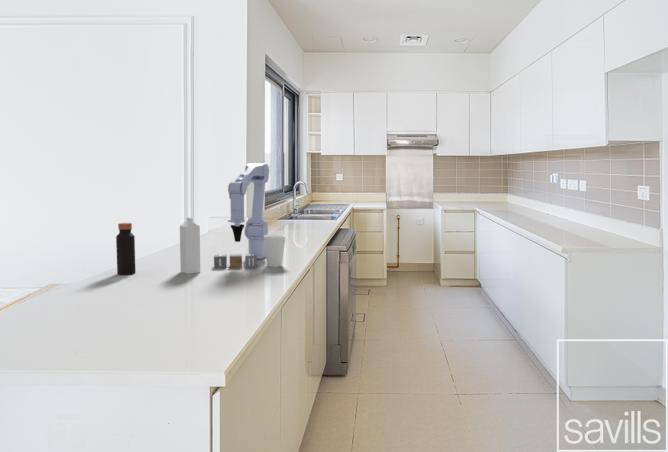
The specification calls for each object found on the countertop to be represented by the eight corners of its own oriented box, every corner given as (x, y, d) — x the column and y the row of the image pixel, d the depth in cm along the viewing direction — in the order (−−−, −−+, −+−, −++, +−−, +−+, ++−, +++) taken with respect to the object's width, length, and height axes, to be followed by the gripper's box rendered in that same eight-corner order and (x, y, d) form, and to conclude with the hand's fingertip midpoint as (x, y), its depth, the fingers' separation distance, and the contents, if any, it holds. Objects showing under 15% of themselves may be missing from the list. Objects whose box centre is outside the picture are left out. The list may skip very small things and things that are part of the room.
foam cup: (287, 264, 248) (287, 234, 247) (283, 267, 239) (283, 237, 238) (266, 263, 249) (265, 234, 248) (261, 267, 240) (261, 237, 239)
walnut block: (230, 266, 243) (230, 254, 243) (241, 265, 244) (241, 254, 243) (229, 268, 238) (229, 256, 238) (241, 267, 239) (241, 256, 238)
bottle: (129, 275, 219) (128, 224, 217) (113, 274, 221) (112, 224, 219) (138, 272, 226) (137, 222, 224) (123, 271, 227) (122, 222, 225)
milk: (186, 274, 223) (185, 218, 221) (180, 272, 228) (179, 217, 226) (200, 272, 227) (199, 218, 225) (194, 270, 232) (193, 216, 229)
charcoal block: (214, 266, 242) (214, 254, 242) (226, 266, 243) (226, 254, 242) (214, 268, 237) (213, 256, 237) (226, 268, 238) (226, 256, 237)
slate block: (245, 265, 244) (245, 254, 244) (257, 265, 245) (257, 253, 244) (245, 267, 239) (245, 256, 239) (257, 267, 240) (257, 255, 239)
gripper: (228, 208, 247) (228, 239, 248) (227, 211, 233) (227, 243, 234) (244, 208, 248) (244, 239, 249) (244, 211, 234) (244, 243, 235)
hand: (237, 241), depth 242 cm, fingers closed
